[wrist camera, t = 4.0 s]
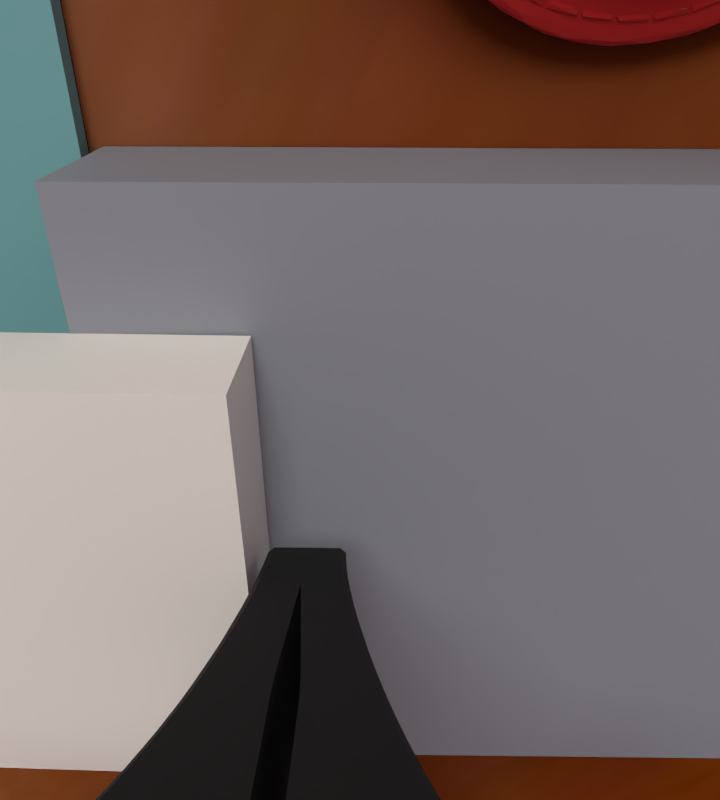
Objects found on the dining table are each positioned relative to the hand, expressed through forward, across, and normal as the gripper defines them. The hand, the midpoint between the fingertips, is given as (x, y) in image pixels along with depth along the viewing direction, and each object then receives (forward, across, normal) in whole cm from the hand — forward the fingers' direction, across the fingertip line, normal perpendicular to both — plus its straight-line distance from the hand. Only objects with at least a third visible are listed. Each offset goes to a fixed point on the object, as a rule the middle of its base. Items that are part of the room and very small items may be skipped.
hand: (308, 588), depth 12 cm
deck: (+4, -4, 0) cm, 6 cm away
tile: (+1, +4, 0) cm, 4 cm away
